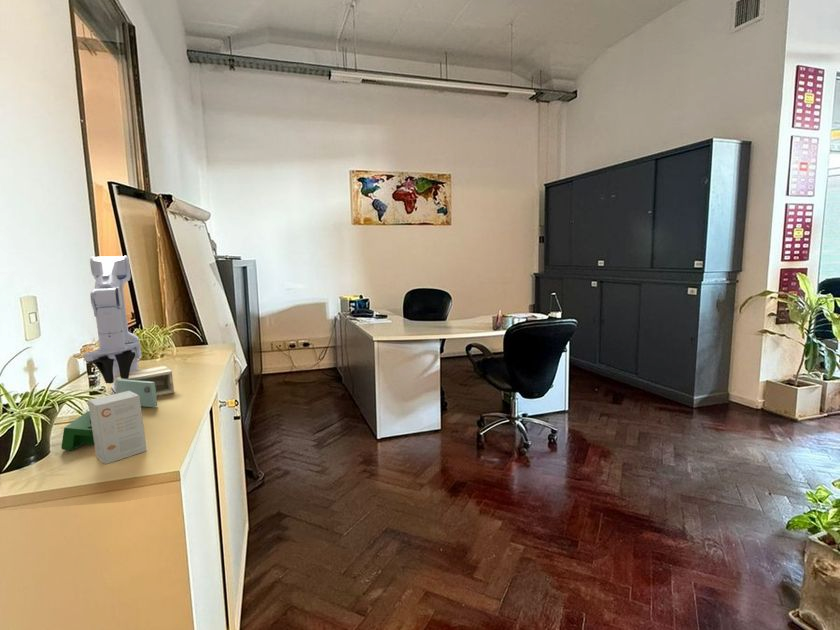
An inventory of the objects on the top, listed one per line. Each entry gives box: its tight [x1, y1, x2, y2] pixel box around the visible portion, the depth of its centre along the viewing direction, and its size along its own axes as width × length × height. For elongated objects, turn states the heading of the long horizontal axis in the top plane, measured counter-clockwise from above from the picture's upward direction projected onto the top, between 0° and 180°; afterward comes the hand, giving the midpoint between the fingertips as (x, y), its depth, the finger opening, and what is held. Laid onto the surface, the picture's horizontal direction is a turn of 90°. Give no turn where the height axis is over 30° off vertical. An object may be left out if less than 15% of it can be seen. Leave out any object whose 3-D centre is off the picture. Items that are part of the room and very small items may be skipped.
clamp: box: [60, 410, 95, 451], centre depth 105 cm, size 12×6×9 cm, turn 9°
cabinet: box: [114, 365, 175, 397], centre depth 140 cm, size 10×14×7 cm
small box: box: [87, 391, 147, 465], centre depth 97 cm, size 8×6×13 cm
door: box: [116, 379, 158, 408], centre depth 129 cm, size 2×14×7 cm, turn 72°
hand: (117, 380), depth 122 cm, fingers open, 4 cm apart
